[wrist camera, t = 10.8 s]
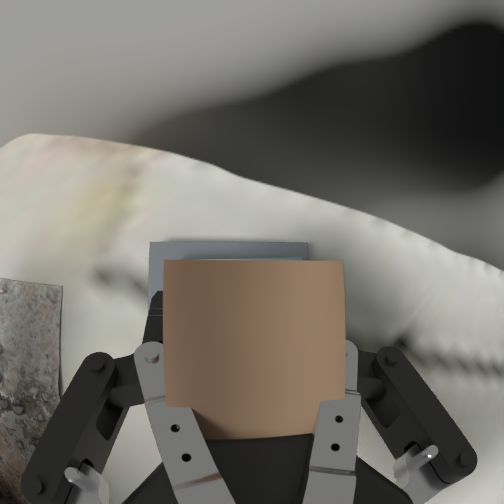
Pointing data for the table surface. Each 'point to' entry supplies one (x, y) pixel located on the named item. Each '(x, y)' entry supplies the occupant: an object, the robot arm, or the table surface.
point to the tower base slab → (214, 255)
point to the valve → (26, 374)
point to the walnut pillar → (253, 343)
